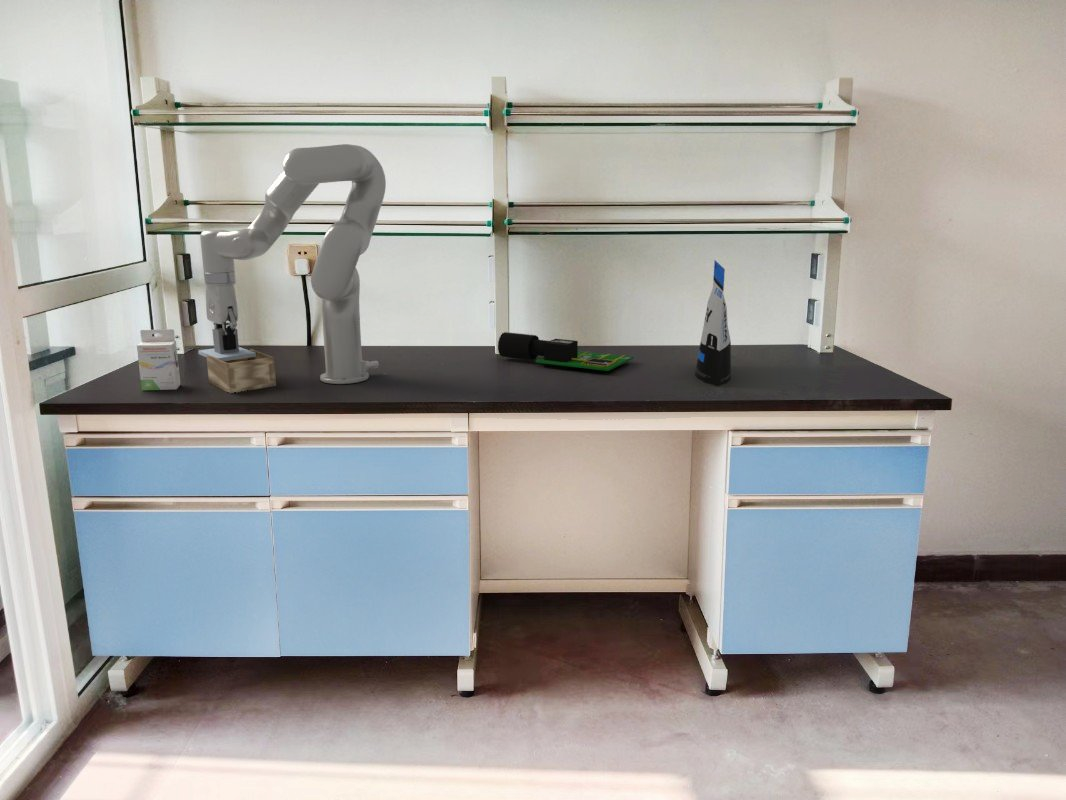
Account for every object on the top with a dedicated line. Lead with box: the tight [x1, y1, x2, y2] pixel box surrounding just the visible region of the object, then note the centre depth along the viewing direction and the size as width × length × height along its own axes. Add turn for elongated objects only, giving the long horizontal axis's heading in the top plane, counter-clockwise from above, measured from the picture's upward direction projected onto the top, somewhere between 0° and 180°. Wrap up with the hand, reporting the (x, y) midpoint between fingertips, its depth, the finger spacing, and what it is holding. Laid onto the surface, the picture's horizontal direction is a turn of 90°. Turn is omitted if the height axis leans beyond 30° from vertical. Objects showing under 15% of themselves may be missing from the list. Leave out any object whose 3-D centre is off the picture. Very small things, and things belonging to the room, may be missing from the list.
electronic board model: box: [497, 331, 634, 372], centre depth 238 cm, size 36×8×18 cm
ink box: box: [136, 328, 181, 391], centre depth 209 cm, size 9×5×15 cm, turn 101°
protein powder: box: [694, 260, 732, 388], centre depth 220 cm, size 10×24×30 cm, turn 174°
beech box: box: [205, 348, 277, 394], centre depth 213 cm, size 12×14×8 cm
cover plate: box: [198, 327, 256, 361], centre depth 218 cm, size 10×13×7 cm
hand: (226, 347), depth 218 cm, fingers closed on cover plate, 4 cm apart
